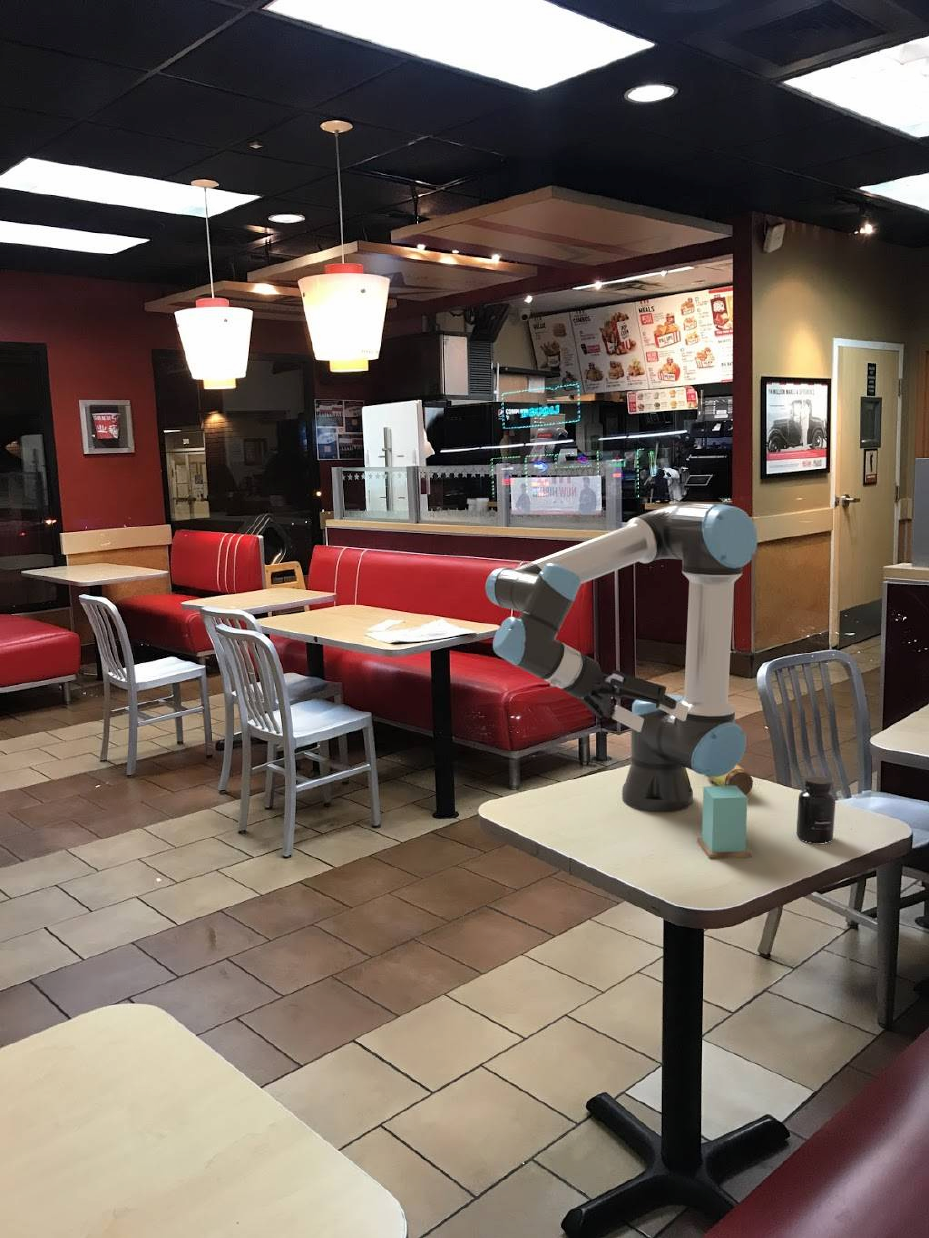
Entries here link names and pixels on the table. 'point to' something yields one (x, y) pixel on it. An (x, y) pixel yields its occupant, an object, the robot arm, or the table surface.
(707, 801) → the tall teal pillar
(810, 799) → the supplement bottle
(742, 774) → the sauce bottle
